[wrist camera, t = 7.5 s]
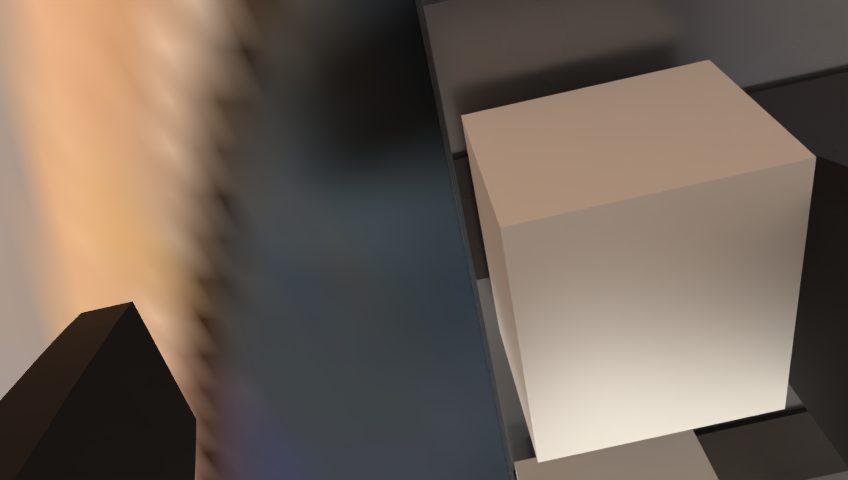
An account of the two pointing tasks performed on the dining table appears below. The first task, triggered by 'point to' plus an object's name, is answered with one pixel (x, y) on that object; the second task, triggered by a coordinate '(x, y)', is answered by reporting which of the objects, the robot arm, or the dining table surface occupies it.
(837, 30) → the switch unit
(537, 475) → the cream small block
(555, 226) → the cream small block
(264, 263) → the dining table surface
